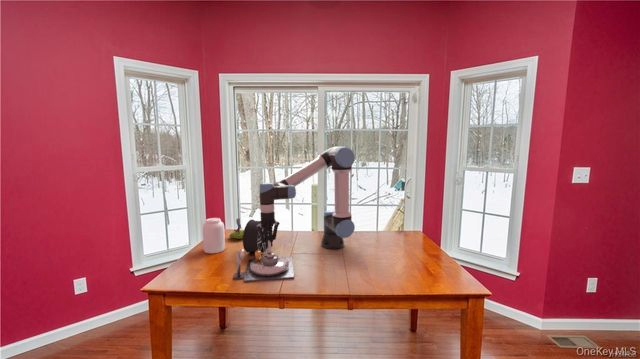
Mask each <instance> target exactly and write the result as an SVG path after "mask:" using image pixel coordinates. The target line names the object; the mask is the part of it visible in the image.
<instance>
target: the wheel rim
mask: <svg viewBox="0 0 640 359" xmlns="http://www.w3.org/2000/svg"><path fill="white" fill-rule="evenodd" d="M260 221H261V220H254V219H249V220H248V221H247V223H246V224H245V227H244V230H243V231H244V233H243V238H242V246H243V250H244V252H245V253H253V252H254V253H255V251H257V250H260V251H261V255H263V254H265V253H267V248H266V247H265V242H263V241H262V240H261V237H260V234H259V230H258V228H257V227H256V225H259V224H260ZM261 229H262V232H263V235H264V227H263V226H262V225H261ZM264 239H265V238H264ZM268 241H269V229H268Z"/></svg>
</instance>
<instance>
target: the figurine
mask: <svg viewBox="0 0 640 359" xmlns="http://www.w3.org/2000/svg"><path fill="white" fill-rule="evenodd" d="M240 219H241V218H240V217H239V218H236V219H235V222H236V225H237V229H234V230H233V231H234V232H231V233H230V234H229V236H228V237H230V238H231V239H232V238H234V239H235V240H240V239H243V233H244V230H240V229H242V226H241V220H240Z"/></svg>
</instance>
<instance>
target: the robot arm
mask: <svg viewBox="0 0 640 359" xmlns="http://www.w3.org/2000/svg"><path fill="white" fill-rule="evenodd" d="M355 159H356V156H355V152H354V150H352V148H350V147H347V146H344V145H343V146H332V147H330V148H328V149H326V150H324V151H323V152H322V153H320V154H319V155H317V158H315V159H313V160H312V161H311V162H309V163H308V164H306V165H304V166H303V167H301V168H300V169H297V170H296V171H294V172H293V173H292V174H290V175H288V176H286V177H285V178H284V179H282V180H280V181H276V182H274V183H273V182H261V183H259V191H258V193H259V209H260V220H259V221H260V224H259V225H256V227H257V228H258V230H259V234H260V237H261V240H262V241H263V242H265V247H266V248H267V250H266V254H267V253H269V252H272V247H273V242H274V240H276V238H277V234H278V229H279V226H280V222H279V221H276V218H275V217H276V216H275V201H277V200H291V199H295V198H296V195H297V190H296V186H298V185H300V184H302V183H303V182H305V181H306V180H308V179H309V178H312V176H314V175H316V174H317V173H318V172H321V171H322V170H324V169H328V168H330V167H331V170H332V171H333V174H334V175H333V176H334V180H333V181H334V210H333V209H331V210H325V211H324V213H323V235H322V237H321V241H320V245H321V247H322V248H325V249H329V250H337V249H341V248H344V246H345V241H344V239H346V238H349V237H351V236H352V235H353V234H354V231H355V229H356V227H355V226H356V225H355V223H354V222H353V221H352V220H353V219H352V213H351V212H350V172H351V171H352V168H353V167H352V166H353V164H354V163H355ZM261 225H262V226H263V227H264V235H263V232H262V229H261ZM268 229H269V241H268ZM264 238H265V239H264Z"/></svg>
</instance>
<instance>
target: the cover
mask: <svg viewBox="0 0 640 359" xmlns="http://www.w3.org/2000/svg"><path fill="white" fill-rule="evenodd" d="M278 256H279V255H277V254H275V253H274V252H272V251H271V252H269V253H267V252H266V254H265V255H263V256H262V257H263V265H265V266H274V265H276V264H278Z"/></svg>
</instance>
